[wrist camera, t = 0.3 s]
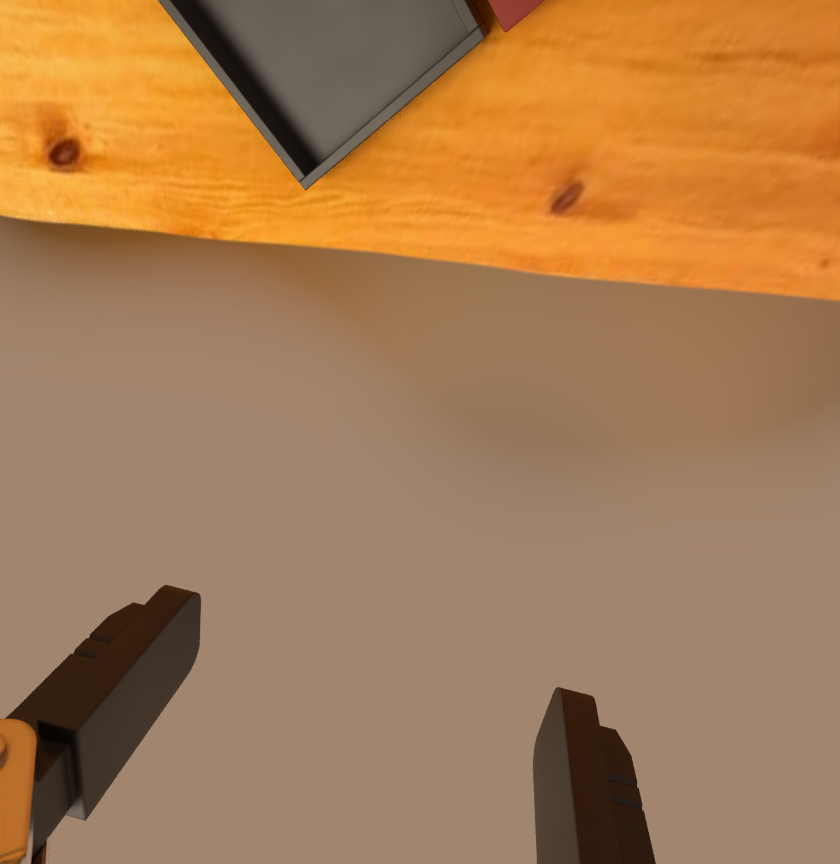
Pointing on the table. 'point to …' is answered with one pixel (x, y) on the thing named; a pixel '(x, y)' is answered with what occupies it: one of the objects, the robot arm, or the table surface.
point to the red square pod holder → (512, 11)
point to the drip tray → (326, 65)
